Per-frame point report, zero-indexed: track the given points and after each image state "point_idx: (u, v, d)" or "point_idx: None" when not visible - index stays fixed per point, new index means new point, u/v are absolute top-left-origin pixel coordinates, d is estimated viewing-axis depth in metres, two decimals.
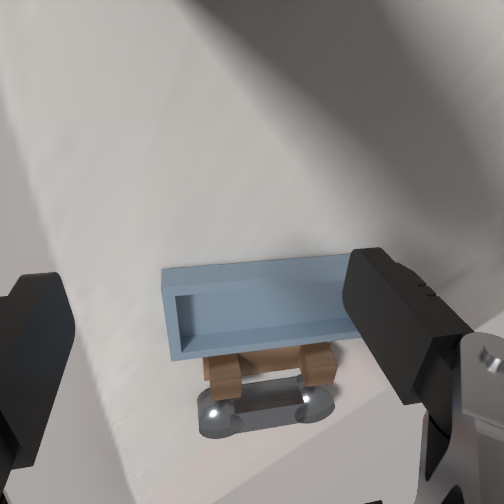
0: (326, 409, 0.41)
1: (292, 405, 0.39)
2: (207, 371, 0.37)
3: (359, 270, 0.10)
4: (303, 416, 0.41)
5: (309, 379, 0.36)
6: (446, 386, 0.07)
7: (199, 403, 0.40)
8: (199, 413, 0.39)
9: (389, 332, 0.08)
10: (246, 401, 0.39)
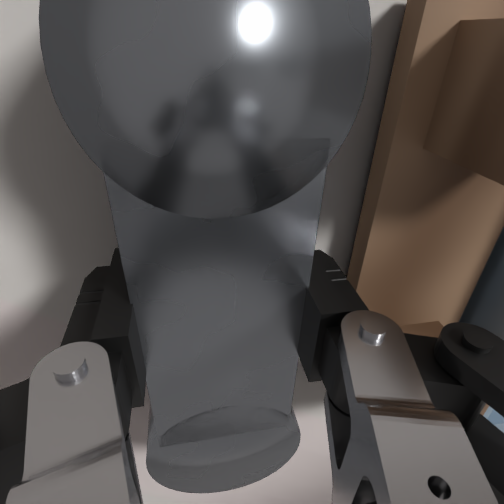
0: (224, 477, 0.12)
1: None
2: (482, 14, 0.08)
3: None
4: (201, 434, 0.10)
5: None
6: (333, 361, 0.07)
7: None
8: None
9: None
10: None
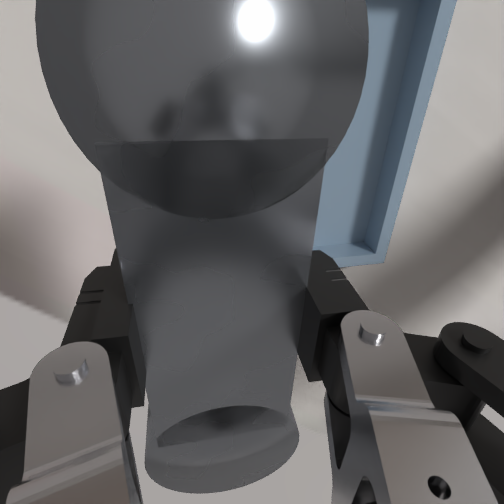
0: (223, 477, 0.12)
1: (292, 387, 0.10)
2: None
3: None
4: (200, 435, 0.10)
5: None
6: (333, 361, 0.07)
7: None
8: None
9: None
10: None
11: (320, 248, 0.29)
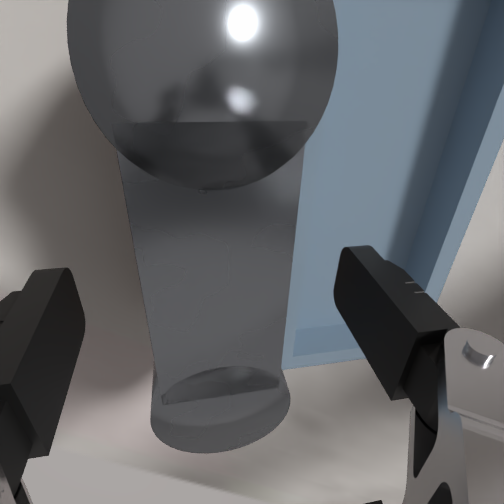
0: (221, 438, 0.13)
1: (282, 350, 0.11)
2: None
3: (349, 267, 0.10)
4: (200, 394, 0.12)
5: None
6: (430, 381, 0.07)
7: None
8: None
9: (377, 328, 0.08)
10: None
11: (328, 330, 0.21)
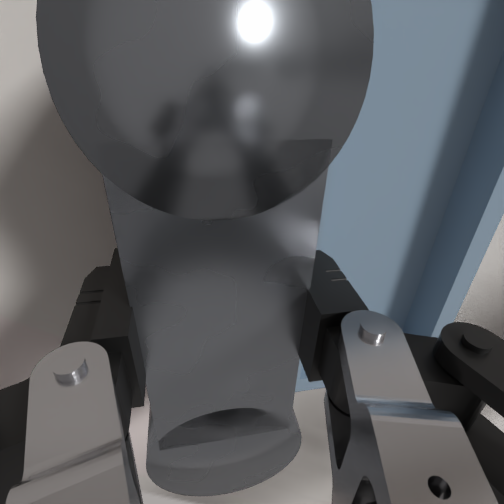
0: (225, 480, 0.12)
1: None
2: None
3: None
4: (202, 437, 0.10)
5: None
6: (333, 361, 0.07)
7: None
8: None
9: None
10: None
11: None
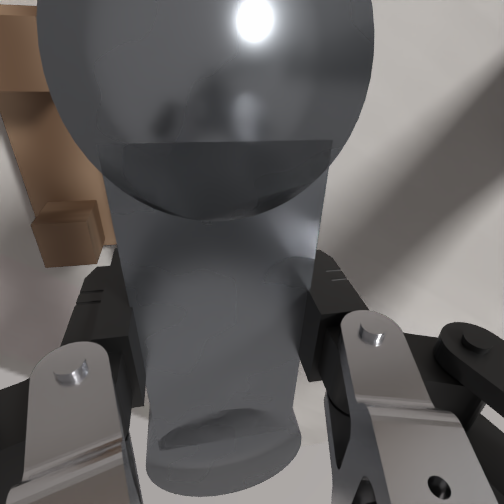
0: (225, 480, 0.12)
1: None
2: (1, 13, 0.17)
3: None
4: (202, 438, 0.10)
5: (55, 225, 0.20)
6: (333, 361, 0.07)
7: None
8: None
9: None
10: None
11: None
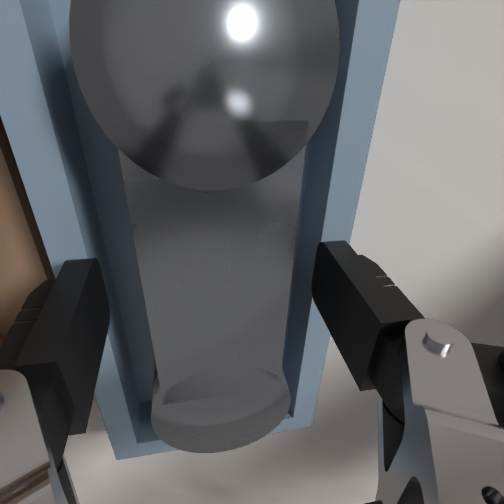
0: (222, 437, 0.13)
1: (283, 349, 0.11)
2: None
3: (324, 262, 0.10)
4: (201, 393, 0.12)
5: None
6: (394, 371, 0.07)
7: None
8: None
9: (347, 321, 0.09)
10: None
11: None
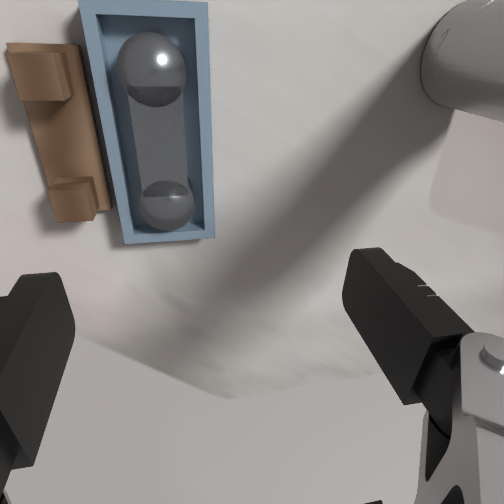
0: (168, 221, 0.32)
1: None
2: (30, 49, 0.26)
3: (359, 270, 0.10)
4: (157, 193, 0.31)
5: (64, 191, 0.29)
6: (445, 386, 0.07)
7: None
8: None
9: (389, 332, 0.08)
10: None
11: None
